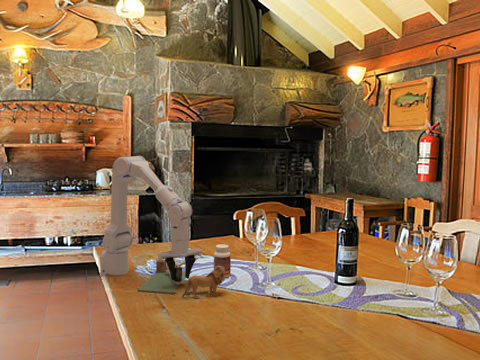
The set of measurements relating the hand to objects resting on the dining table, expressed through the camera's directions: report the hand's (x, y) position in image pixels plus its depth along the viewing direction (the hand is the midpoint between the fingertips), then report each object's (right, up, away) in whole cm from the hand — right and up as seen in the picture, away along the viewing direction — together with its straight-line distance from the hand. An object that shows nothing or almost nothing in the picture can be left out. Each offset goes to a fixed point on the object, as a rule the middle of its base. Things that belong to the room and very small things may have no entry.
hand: (180, 278), depth 146 cm
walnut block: (-9, -1, +14) cm, 17 cm away
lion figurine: (+9, -4, -6) cm, 11 cm away
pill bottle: (+13, -2, +13) cm, 19 cm away
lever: (-3, -1, +7) cm, 8 cm away
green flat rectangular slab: (-5, -3, +5) cm, 8 cm away
